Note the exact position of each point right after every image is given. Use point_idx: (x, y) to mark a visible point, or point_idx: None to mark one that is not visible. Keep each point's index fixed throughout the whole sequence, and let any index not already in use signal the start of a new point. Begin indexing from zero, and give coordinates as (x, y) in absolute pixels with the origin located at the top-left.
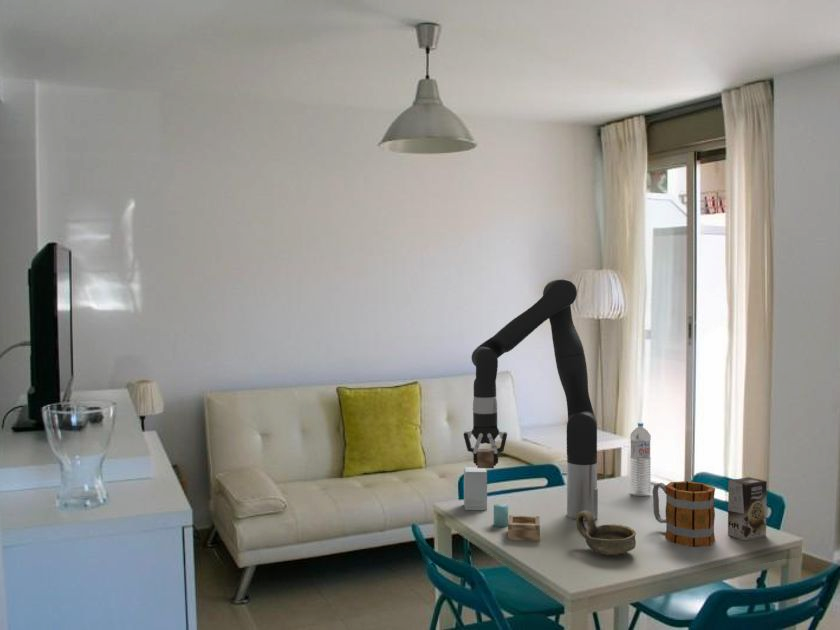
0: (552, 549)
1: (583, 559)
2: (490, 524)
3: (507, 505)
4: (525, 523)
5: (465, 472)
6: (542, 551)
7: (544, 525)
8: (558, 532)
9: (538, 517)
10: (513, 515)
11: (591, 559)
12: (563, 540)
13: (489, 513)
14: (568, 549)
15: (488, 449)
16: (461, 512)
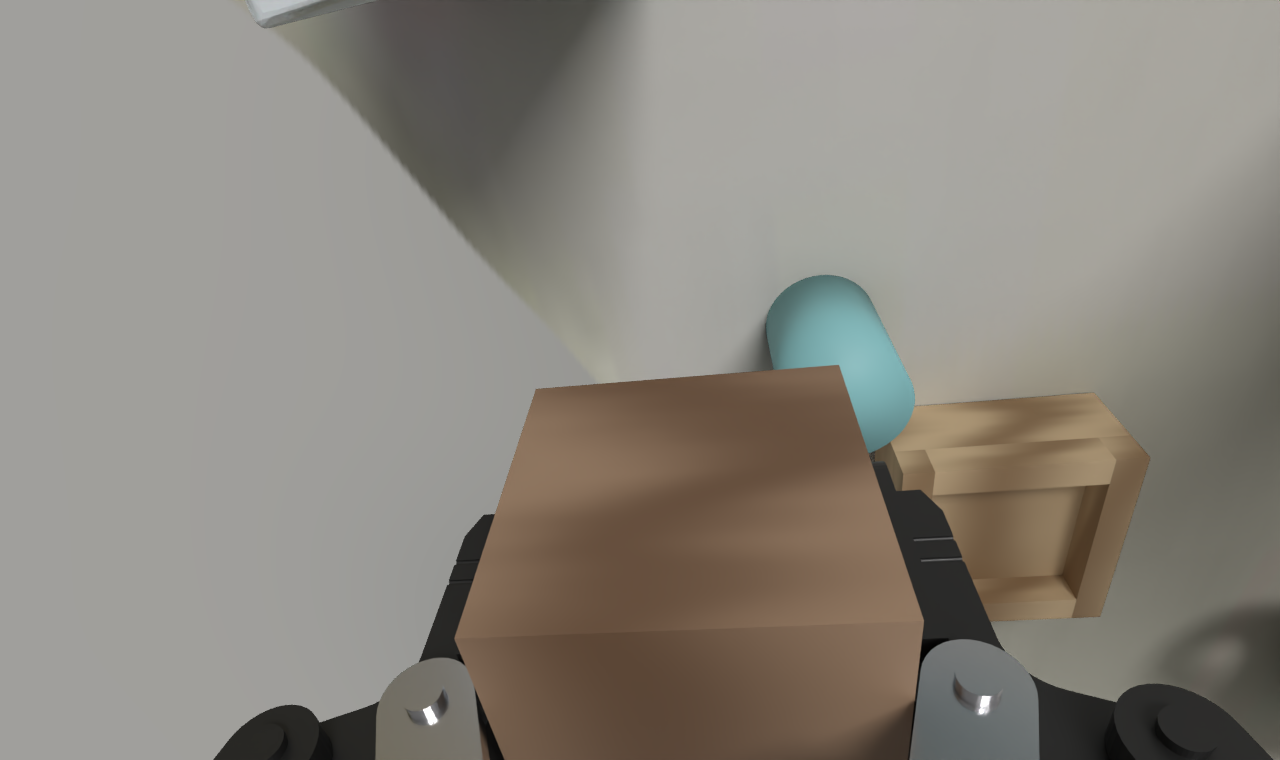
0: (1099, 627)
1: (1219, 698)
2: (742, 327)
3: (909, 397)
4: (1011, 498)
5: (262, 25)
6: (1039, 652)
7: (1169, 264)
8: (1230, 390)
9: (1135, 481)
10: (940, 473)
11: (1261, 694)
12: (1210, 513)
13: (696, 28)
14: (1189, 616)
15: (757, 674)
16: (437, 64)
